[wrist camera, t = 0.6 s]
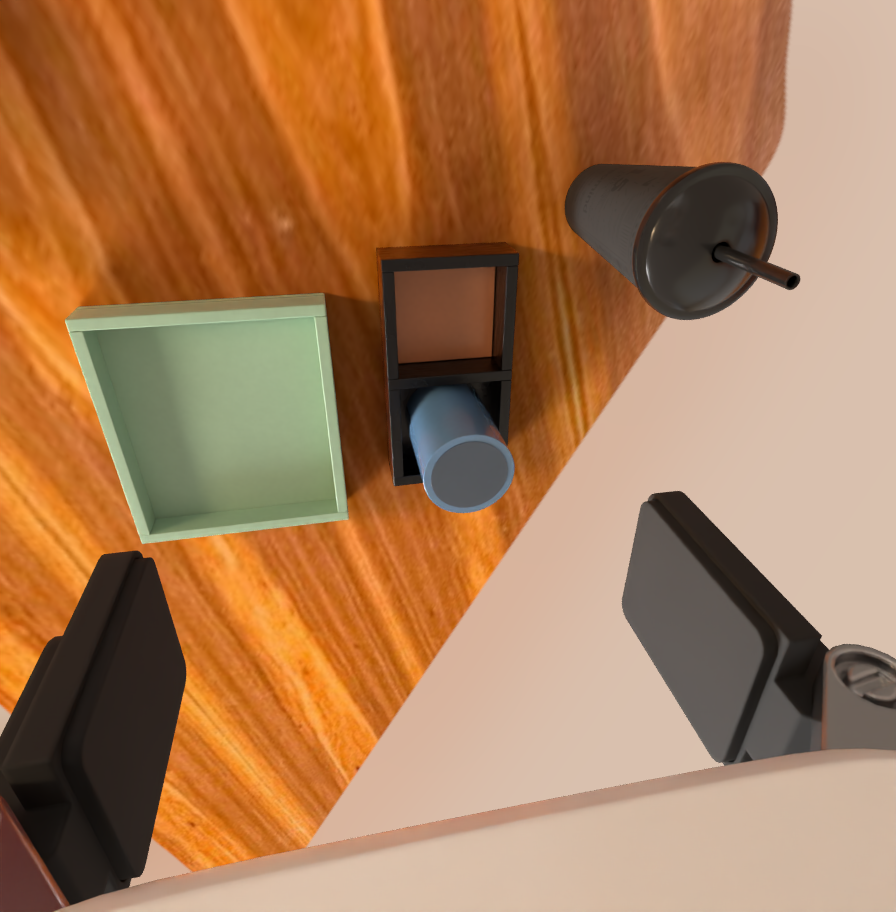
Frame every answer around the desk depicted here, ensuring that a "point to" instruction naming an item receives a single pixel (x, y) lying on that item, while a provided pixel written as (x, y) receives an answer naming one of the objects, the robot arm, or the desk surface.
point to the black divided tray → (445, 331)
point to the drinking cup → (680, 231)
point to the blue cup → (458, 448)
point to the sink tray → (217, 411)
